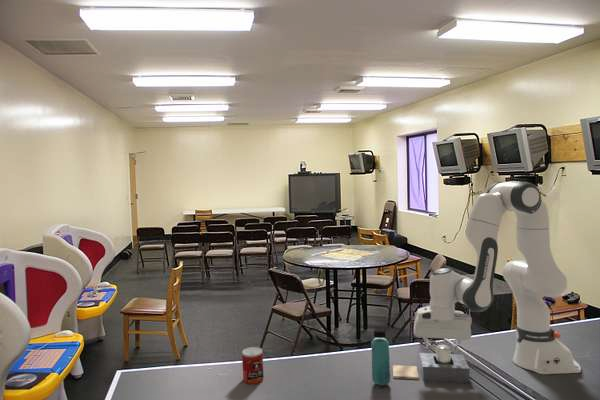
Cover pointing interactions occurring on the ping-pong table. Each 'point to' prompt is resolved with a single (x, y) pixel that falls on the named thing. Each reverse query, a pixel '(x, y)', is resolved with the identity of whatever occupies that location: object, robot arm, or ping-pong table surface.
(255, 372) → the canned food
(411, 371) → the oak pad
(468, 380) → the block
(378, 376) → the beverage bottle
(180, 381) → the ping-pong table surface
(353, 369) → the ping-pong table surface
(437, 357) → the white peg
